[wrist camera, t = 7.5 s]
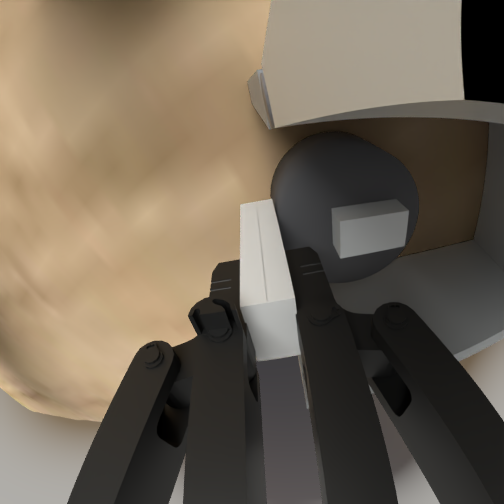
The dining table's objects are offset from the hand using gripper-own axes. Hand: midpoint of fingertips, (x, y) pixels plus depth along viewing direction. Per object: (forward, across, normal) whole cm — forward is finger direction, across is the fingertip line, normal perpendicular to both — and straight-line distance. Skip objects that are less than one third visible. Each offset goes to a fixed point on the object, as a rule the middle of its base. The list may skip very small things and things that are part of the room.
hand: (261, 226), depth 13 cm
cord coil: (+2, +4, 0) cm, 5 cm away
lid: (-13, +9, +7) cm, 18 cm away
